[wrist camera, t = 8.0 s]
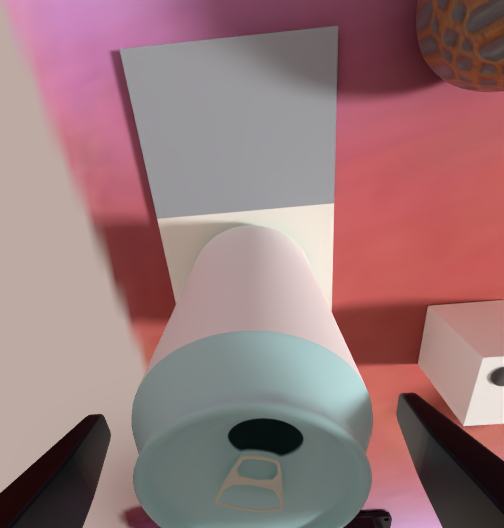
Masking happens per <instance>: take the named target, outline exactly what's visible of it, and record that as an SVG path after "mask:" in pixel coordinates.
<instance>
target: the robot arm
mask: <svg viewBox="0 0 504 528" xmlns="http://www.w3.org/2000/svg"><path fill="white" fill-rule="evenodd" d="M397 420H398V423H399V426H400V428H401V431H402V434H403V436H404V439H405V442H406V445H407V447H408V450H409V453H410V455H411V458H412V461H413V463H414V466H415V469H416V471H417V474H418V476H419V479H420V481H421V483H422V485H423V488H424V490H425V492H426V494H427V496H428V498H429V500H430V502H431V504H432V506H433V508H434V511H435V513H436V515H437V517H438V519H439V521H440V523H441V525H442V527H443V528H504V461H503V460H502V459H500V458H499V457H498V456H497V455H495V454H494V453H493V452H491V451H490V450H489V449H487V448H486V447H485V446H484V445H482V444H481V443H480V442H478V441H477V440H476V439H474V438H473V437H472V436H471V435H469V434H468V433H467V432H465V431H464V430H463V429H461V428H460V427H459V426H457V425H456V424H455V423H454V422H452V421H451V420H450V419H448V418H447V417H446V416H444V415H443V414H442V413H441V412H439V411H438V410H437V409H435V408H434V407H433V406H431V405H430V404H429V403H428V402H426V401H425V400H424V399H422V398H421V397H420V396H418V395H417V394H415V393H402V394H400V395H399V400H398V406H397ZM110 437H111V434H110V429H109V427H108V425H107V422H106V420H105V417H104V416H103V415H102V414H94V415H88V416H87V417H85V418H84V419H83V420H82V421H81V422H80V423H79V424H77V425H76V426H75V427H74V428H73V429H72V430H71V431H70V432H69V433H67V434H66V435H65V436H64V437H63V438H62V439H61V440H59V441H58V442H57V443H56V444H55V445H54V446H53V447H52V448H51V449H49V450H48V451H47V452H46V453H45V454H44V455H43V456H42V457H40V458H39V459H38V460H37V461H36V462H35V463H34V464H33V465H31V466H30V467H29V468H28V469H27V470H26V471H25V472H24V473H22V474H21V475H20V476H19V477H18V478H17V479H16V480H15V481H14V482H12V483H11V484H10V485H9V486H8V487H7V488H6V489H5V490H3V491H2V492H1V493H0V528H82V527H83V525H84V522H85V519H86V517H87V514H88V512H89V509H90V506H91V503H92V500H93V498H94V495H95V491H96V488H97V485H98V481H99V477H100V474H101V470H102V467H103V463H104V460H105V457H106V453H107V449H108V446H109V442H110ZM391 521H392V518H391V515H390V513H389V512H371V513H358V514H357V515H356V516H355V517H354V519H353V520H351V521H350V522H349V523H348V524H347V525H346V526H345V527H343V528H390V526H391Z"/></svg>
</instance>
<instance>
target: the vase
mask: <svg viewBox="0 0 504 528" xmlns="http://www.w3.org/2000/svg"><path fill="white" fill-rule="evenodd" d="M416 34H417V40H418V44H419V48H420V51H421V53H422V56H423V58H424V60H425V61H426V63H427V65H428V66H429V67H430V68H431V70H432V71H433V72H434V73H435V74H437V75H438V76H439V77H440V78H441V79H443V80H444V81H446V82H448V83H450V84H452V85H454V86H457V87H460V88H463V89H467V90H473V91H479V92H498V91H504V0H418V4H417V11H416Z"/></svg>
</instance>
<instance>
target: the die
mask: <svg viewBox="0 0 504 528" xmlns="http://www.w3.org/2000/svg"><path fill="white" fill-rule="evenodd" d="M418 365H419V367H420V368H421V369H422V371H423V372H424V373H425V375H426V376H427V378H428V379H429V380H430V382H431V383H432V384H433V386H434V387H435V388H436V390H437V391H438V392H439V394H440V395H441V396H442V398H443V399H444V401H445V402H446V403H447V405H448V406H449V407H450V409H451V410H452V411H453V413H454V414H455V415H456V417H457V418H458V419H459V421H460V422H461V424H462V425H463V426H473V425H488V424H504V300H496V301H483V302H470V303H457V304H444V305H431V306H428V309H427V314H426V320H425V326H424V331H423V337H422V343H421V348H420V354H419V360H418Z"/></svg>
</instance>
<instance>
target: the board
mask: <svg viewBox="0 0 504 528" xmlns="http://www.w3.org/2000/svg"><path fill="white" fill-rule="evenodd" d="M119 50H120V54H121V59H122V63H123V68H124V72H125V77H126V81H127V86H128V90H129V95H130V99H131V104H132V108H133V113H134V117H135V122H136V126H137V131H138V135H139V140H140V144H141V149H142V153H143V158H144V162H145V167H146V171H147V176H148V180H149V185H150V189H151V194H152V198H153V203H154V207H155V212H156V216H157V221H158V225H159V230H160V234H161V239H162V243H163V248H164V252H165V257H166V261H167V266H168V270H169V275H170V279H171V284H172V288H173V293H174V297H175V302H176V304H177V302H178V299H179V297H180V295H181V293H182V290H183V288H184V286H185V284H186V282H187V279H188V277H189V275H190V273H191V271H192V268H193V266H194V264H195V262H196V259H197V257H198V255H199V254H200V252H201V250H202V249H203V248H204V246H205V245H206V244H207V243H208V242H209V241H210V240H212V239H213V238H214V237H215V236H217V235H219V234H220V233H222V232H224V231H226V230H229V229H232V228H235V227H239V226H246V225H257V226H265V227H269V228H272V229H275V230H278V231H280V232H282V233H284V234H285V235H287V236H288V237H290V238H291V239H292V240H293V241H295V242H296V243H297V244H298V246H299V247H300V248H301V249H302V251H303V252H304V254H305V256H306V258H307V260H308V262H309V264H310V266H311V269H312V271H313V273H314V275H315V277H316V279H317V282H318V284H319V286H320V288H321V290H322V293H323V295H324V297H325V299H326V301H327V303H328V306H329V308H330V310H331V312H332V270H333V228H334V186H335V144H336V102H337V60H338V26H330V27H320V28H311V29H302V30H292V31H283V32H274V33H264V34H255V35H246V36H236V37H227V38H217V39H208V40H199V41H189V42H180V43H171V44H161V45H152V46H143V47H133V48H124V49H119Z"/></svg>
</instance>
